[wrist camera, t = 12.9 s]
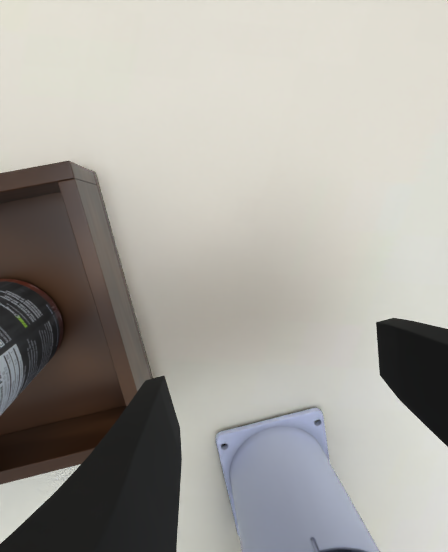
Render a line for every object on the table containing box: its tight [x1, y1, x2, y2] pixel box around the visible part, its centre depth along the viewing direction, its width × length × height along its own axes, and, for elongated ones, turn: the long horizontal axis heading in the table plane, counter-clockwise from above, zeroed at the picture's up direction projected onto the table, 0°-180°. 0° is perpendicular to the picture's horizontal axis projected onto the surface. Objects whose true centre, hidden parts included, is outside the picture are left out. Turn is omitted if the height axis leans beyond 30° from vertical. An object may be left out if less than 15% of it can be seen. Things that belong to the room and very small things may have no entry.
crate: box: [0, 161, 153, 484], centre depth 17 cm, size 16×14×4 cm
